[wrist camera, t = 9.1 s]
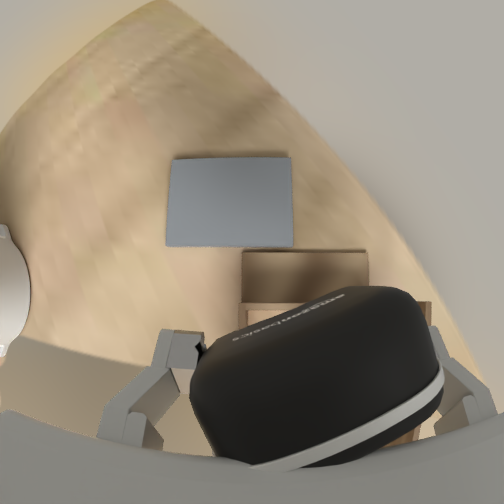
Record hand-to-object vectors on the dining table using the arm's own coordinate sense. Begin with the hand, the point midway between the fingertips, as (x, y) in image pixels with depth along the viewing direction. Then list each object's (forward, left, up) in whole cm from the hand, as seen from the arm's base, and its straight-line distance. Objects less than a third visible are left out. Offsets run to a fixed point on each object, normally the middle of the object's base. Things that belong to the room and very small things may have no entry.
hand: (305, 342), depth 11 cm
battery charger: (0, -1, -7) cm, 7 cm away
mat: (-5, +11, -21) cm, 24 cm away
